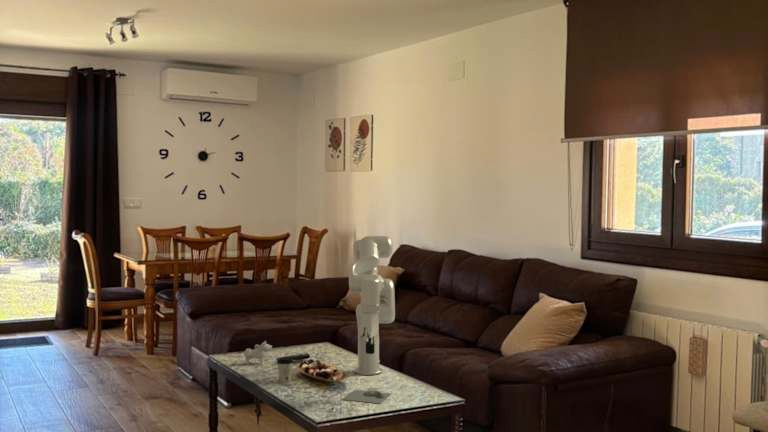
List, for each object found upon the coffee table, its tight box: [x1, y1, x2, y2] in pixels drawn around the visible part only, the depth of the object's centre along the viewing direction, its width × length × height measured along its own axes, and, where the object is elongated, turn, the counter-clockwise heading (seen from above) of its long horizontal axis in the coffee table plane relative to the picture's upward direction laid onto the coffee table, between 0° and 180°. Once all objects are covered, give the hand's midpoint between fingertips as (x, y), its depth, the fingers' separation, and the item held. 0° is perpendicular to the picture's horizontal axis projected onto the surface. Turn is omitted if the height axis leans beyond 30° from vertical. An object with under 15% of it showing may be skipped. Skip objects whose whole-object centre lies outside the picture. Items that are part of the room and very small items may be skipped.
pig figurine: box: [244, 340, 273, 366], centre depth 358 cm, size 5×13×11 cm, turn 98°
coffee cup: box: [277, 356, 294, 384], centre depth 327 cm, size 7×7×10 cm
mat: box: [341, 389, 392, 405], centre depth 305 cm, size 14×16×1 cm
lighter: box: [366, 387, 386, 398], centre depth 307 cm, size 7×2×8 cm
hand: (370, 353), depth 308 cm, fingers closed
